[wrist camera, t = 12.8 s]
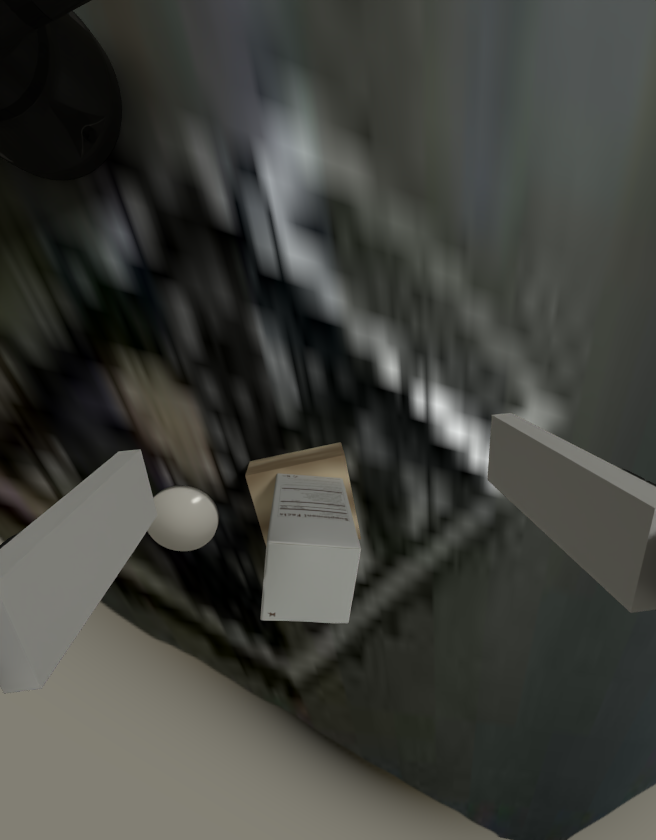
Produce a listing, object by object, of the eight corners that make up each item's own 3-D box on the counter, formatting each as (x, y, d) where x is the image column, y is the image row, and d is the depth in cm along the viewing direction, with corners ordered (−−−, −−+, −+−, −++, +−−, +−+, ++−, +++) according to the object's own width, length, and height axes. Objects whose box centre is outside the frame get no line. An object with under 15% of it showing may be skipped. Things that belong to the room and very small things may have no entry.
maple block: (250, 460, 51) (245, 475, 46) (340, 441, 51) (344, 455, 46) (272, 536, 55) (269, 558, 50) (355, 518, 55) (361, 538, 50)
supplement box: (335, 536, 50) (349, 627, 36) (270, 531, 49) (257, 623, 35) (345, 476, 47) (364, 549, 33) (276, 470, 46) (265, 542, 32)
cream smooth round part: (140, 489, 50) (136, 493, 49) (212, 481, 51) (210, 485, 50) (156, 549, 54) (153, 554, 52) (224, 541, 54) (222, 546, 53)
